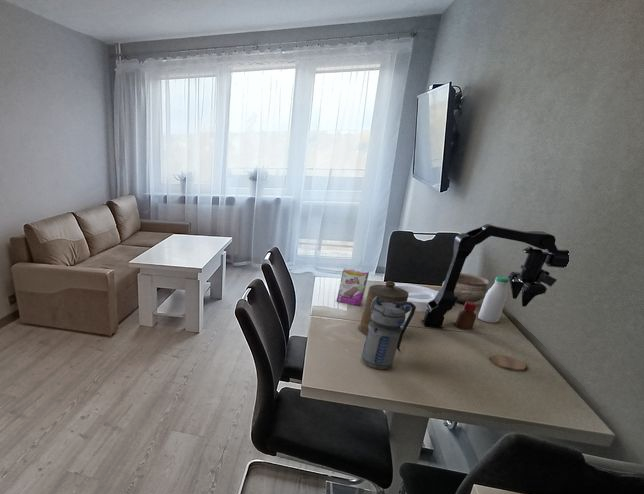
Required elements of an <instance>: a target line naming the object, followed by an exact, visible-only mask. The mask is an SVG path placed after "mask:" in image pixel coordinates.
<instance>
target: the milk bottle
mask: <svg viewBox="0 0 644 494" xmlns="http://www.w3.org/2000/svg"><path fill="white" fill-rule="evenodd" d="M509 282H510V281H509V278H508V277H507V276H501V275H500V276H496V277H495V279H494V284H493V285H492V286H491V287H490V288H489V289H487V293H486V295H485V297H484V298H483V301H482V304H481V306H480V309H479V312H478V315H477V318H478V319H479V320H480V321H483V322H485V323H492V324H494V323H495V324H496V323H498V322H499V320H500V318H501V315H502V313H503V310H504V307H505V305H506V302H507V298H508V290H507V284H508V283H509Z"/></svg>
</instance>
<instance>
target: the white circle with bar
mask: <svg viewBox="0 0 644 494" xmlns="http://www.w3.org/2000/svg"><path fill="white" fill-rule="evenodd" d="M394 283H395V286H394V287H398V288H401V289H403V290H405V291H407V292H408V294H409V295H408V299H407V302H411V303H413V304H414V305H415V306H416V309H415V312H421V313H426V310H427V309H428V308H427V303H428V302H430V301H432V300H434V299H435V297H436V295H437V293H438V292H439V291H440V290H435V289H433V288H429V287H426V286H422V285H418V284H413V283H404V282H394ZM383 285H386V283H384V284H383ZM411 308H412V307H411ZM409 312H411V310H410V311H409Z"/></svg>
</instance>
